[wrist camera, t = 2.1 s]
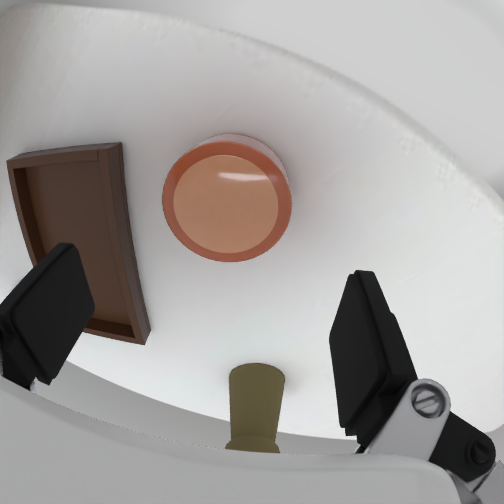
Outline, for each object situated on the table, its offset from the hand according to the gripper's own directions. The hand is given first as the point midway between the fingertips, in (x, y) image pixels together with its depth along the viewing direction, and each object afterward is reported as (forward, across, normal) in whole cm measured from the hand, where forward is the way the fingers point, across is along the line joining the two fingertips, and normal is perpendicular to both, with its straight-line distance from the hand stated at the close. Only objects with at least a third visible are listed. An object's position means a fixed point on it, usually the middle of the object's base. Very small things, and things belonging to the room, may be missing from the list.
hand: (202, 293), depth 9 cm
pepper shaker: (+11, -3, +21) cm, 24 cm away
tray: (+11, +13, +6) cm, 18 cm away
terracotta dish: (+11, 0, 0) cm, 11 cm away
